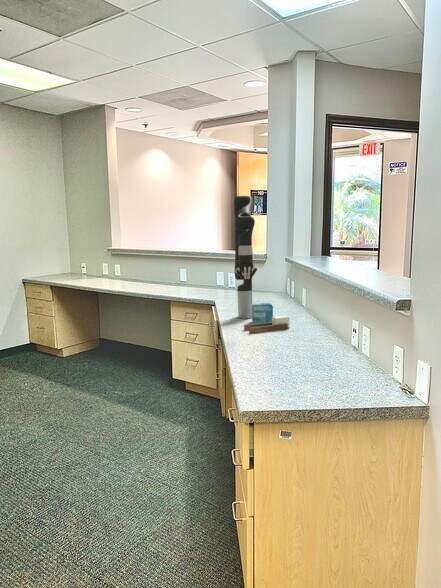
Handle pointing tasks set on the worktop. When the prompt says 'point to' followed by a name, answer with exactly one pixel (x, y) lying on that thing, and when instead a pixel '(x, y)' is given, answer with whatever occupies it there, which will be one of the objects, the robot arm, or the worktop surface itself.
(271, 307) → the blue labeled box
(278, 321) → the sand block
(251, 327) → the walnut chute
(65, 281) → the worktop surface
